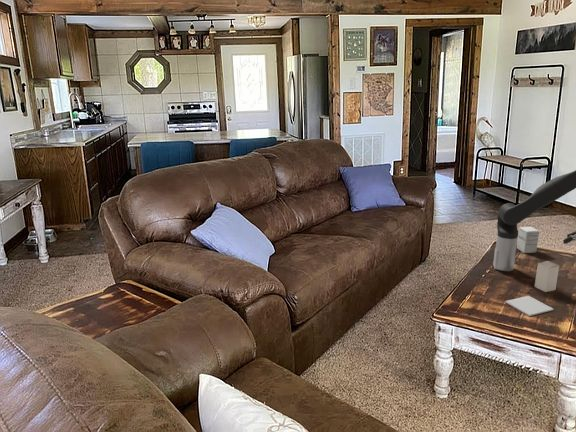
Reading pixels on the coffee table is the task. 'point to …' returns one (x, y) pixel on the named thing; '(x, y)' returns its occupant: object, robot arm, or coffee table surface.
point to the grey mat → (529, 305)
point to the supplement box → (528, 239)
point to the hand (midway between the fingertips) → (571, 244)
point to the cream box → (546, 276)
